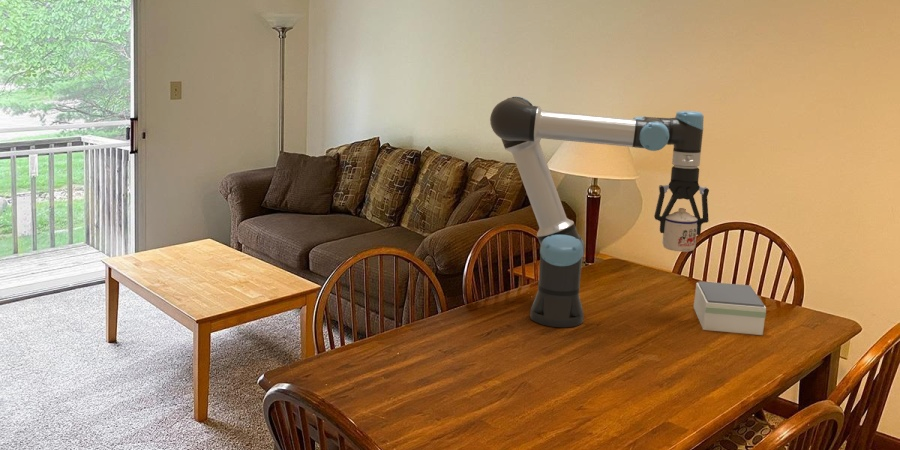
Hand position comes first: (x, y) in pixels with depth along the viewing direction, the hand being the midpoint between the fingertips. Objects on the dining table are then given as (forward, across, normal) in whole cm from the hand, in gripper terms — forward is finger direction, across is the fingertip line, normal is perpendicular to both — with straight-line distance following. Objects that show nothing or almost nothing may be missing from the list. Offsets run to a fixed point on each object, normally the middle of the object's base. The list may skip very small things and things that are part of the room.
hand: (678, 244), depth 228 cm
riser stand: (+22, +15, 0) cm, 27 cm away
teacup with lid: (+1, +1, 0) cm, 1 cm away
